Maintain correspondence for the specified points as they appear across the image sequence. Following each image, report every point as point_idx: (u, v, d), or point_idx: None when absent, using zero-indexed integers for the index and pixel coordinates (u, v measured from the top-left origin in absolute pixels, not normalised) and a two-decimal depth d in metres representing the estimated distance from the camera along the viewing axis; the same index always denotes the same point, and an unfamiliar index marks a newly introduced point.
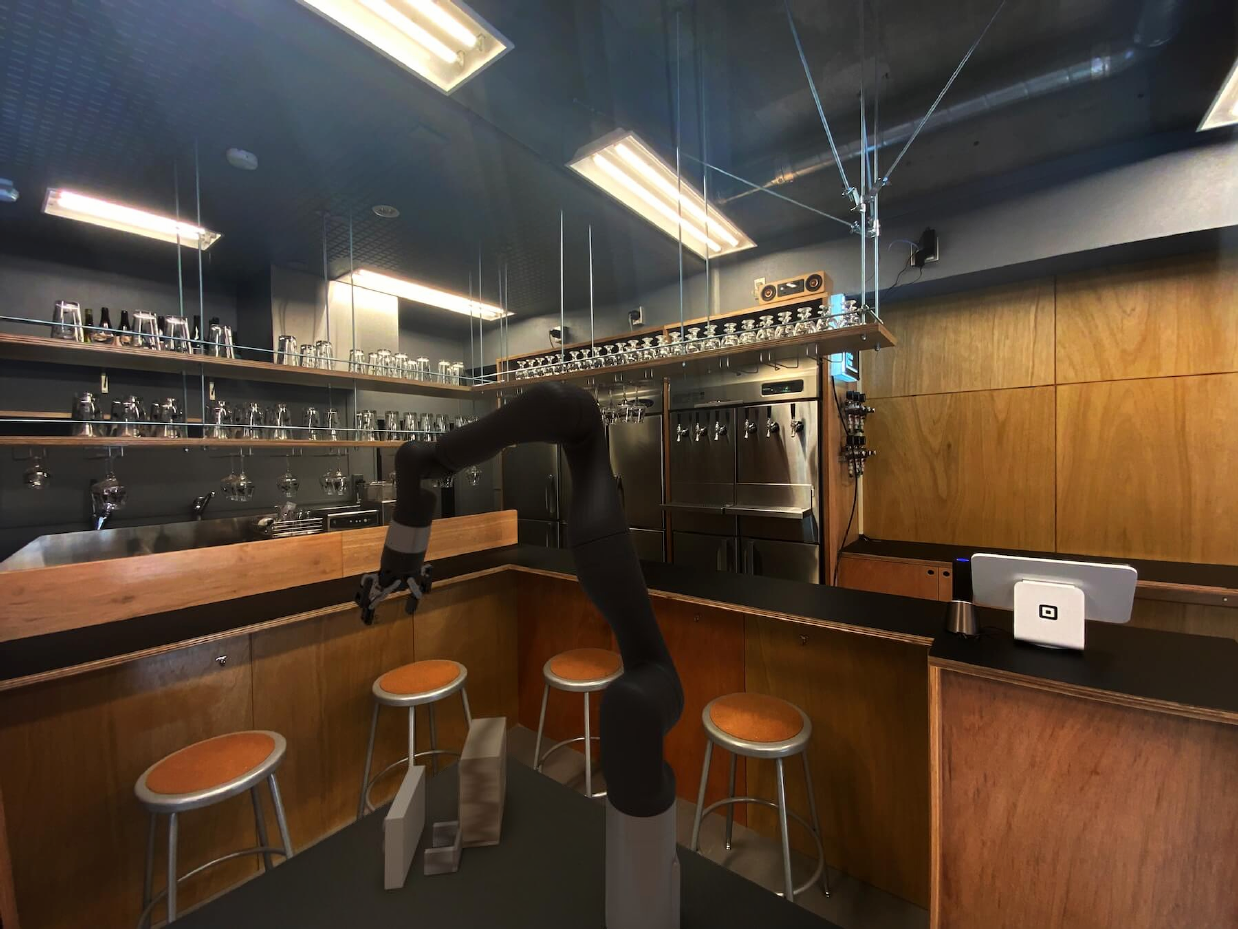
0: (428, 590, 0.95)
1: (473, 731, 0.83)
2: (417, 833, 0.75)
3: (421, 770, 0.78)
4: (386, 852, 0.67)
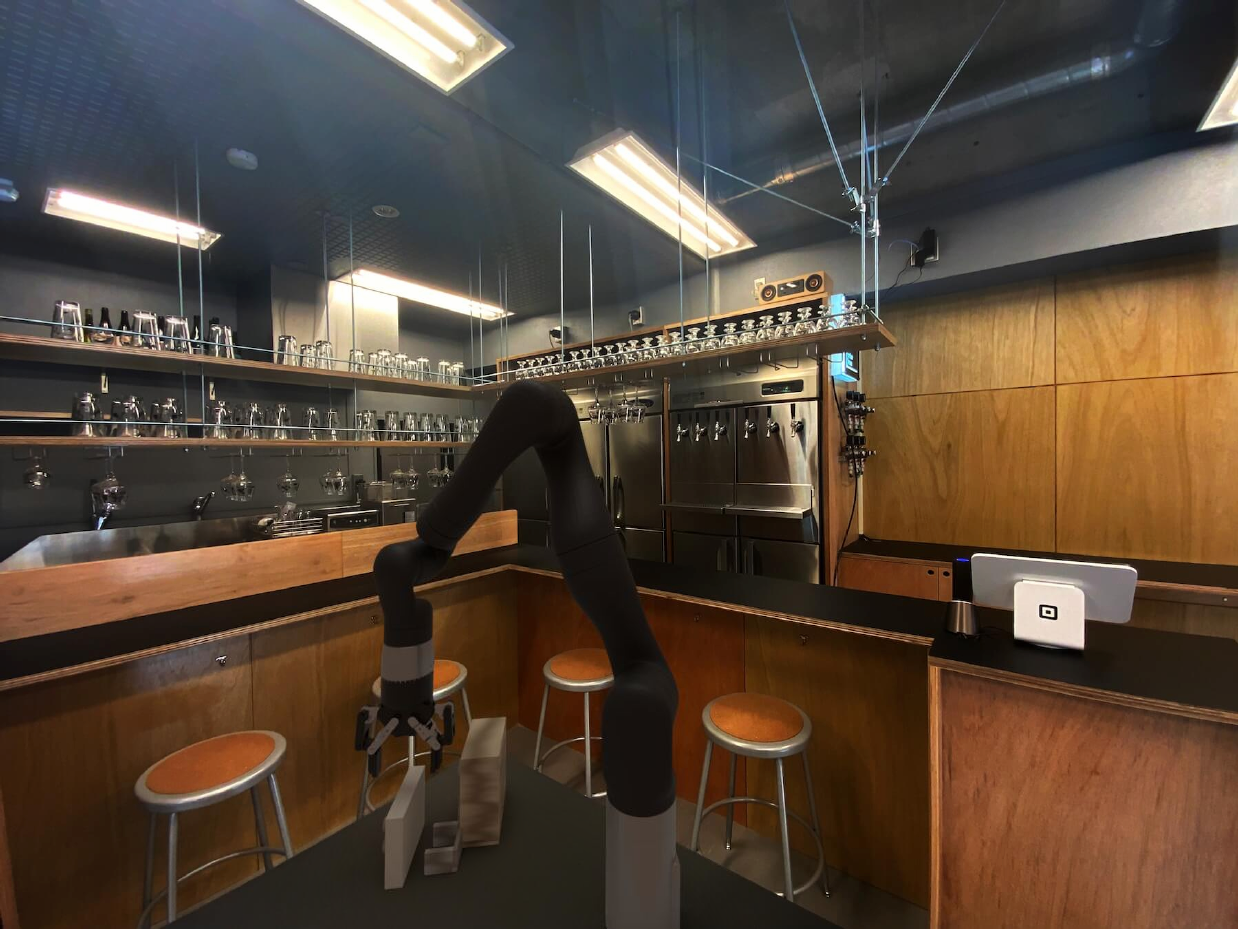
0: (448, 740, 0.73)
1: (473, 731, 0.83)
2: (417, 833, 0.75)
3: (421, 770, 0.78)
4: (386, 852, 0.67)
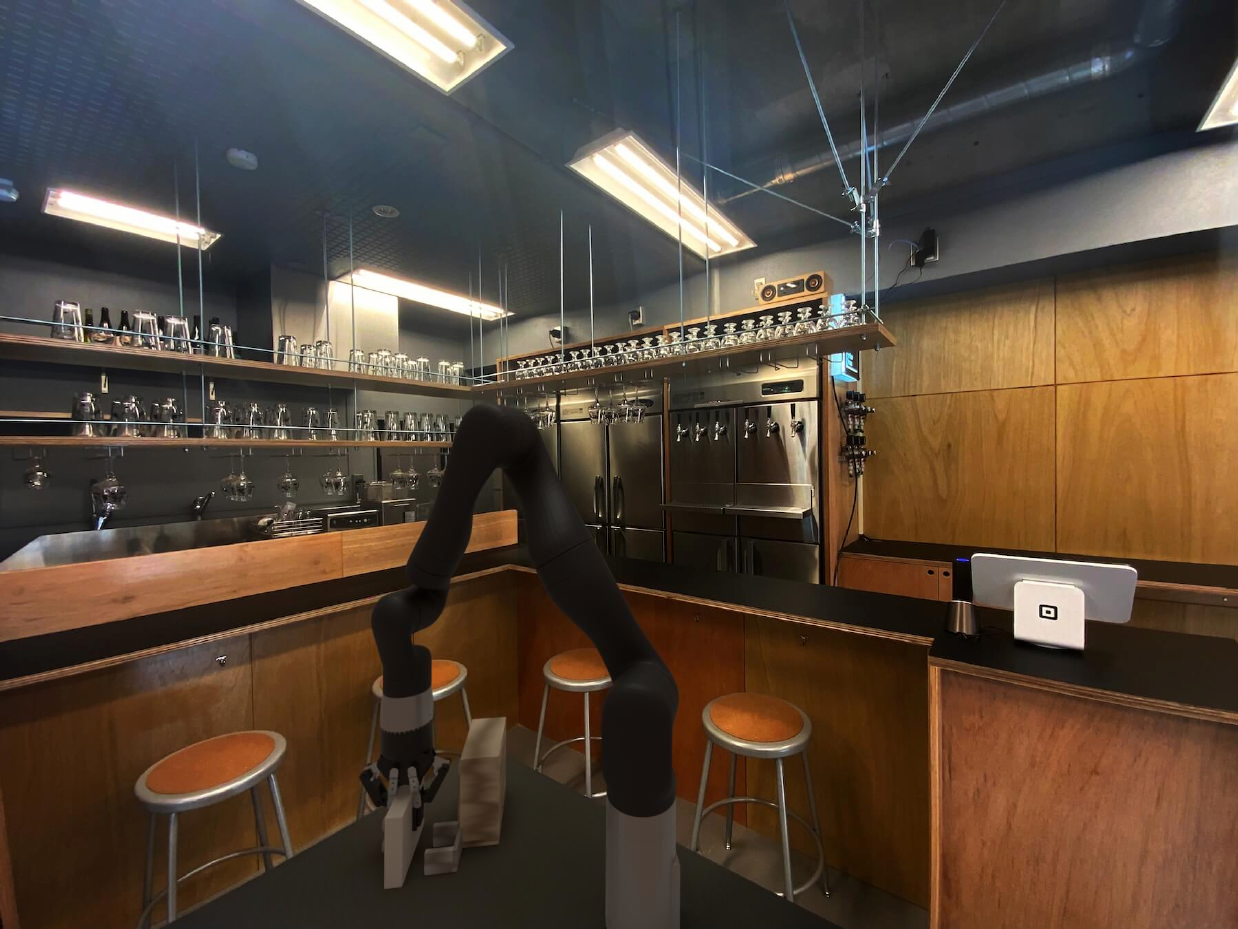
0: (430, 798, 0.73)
1: (473, 731, 0.83)
2: (417, 832, 0.75)
3: None
4: (385, 851, 0.67)
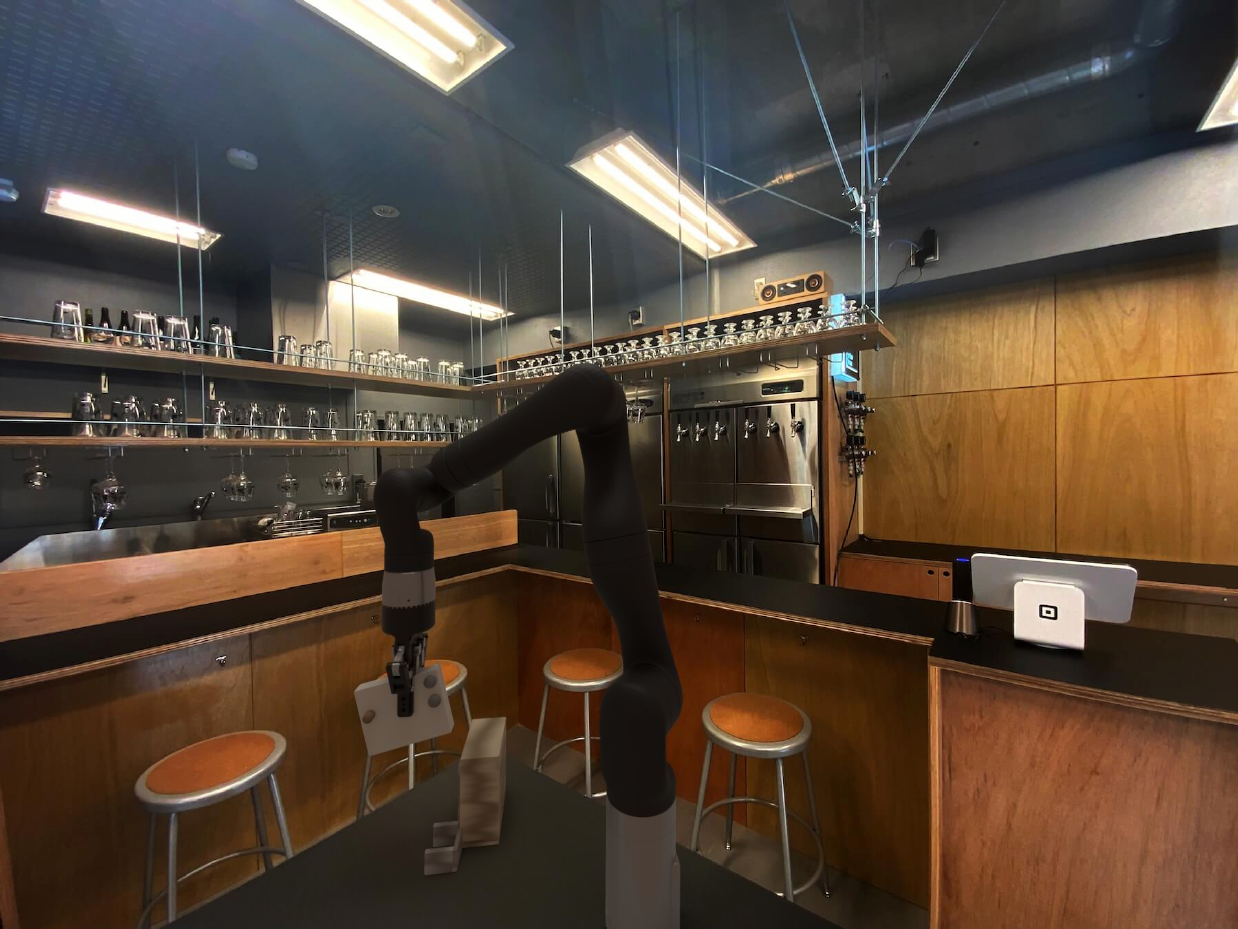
0: (423, 666, 0.76)
1: (473, 731, 0.83)
2: None
3: (368, 682, 0.72)
4: (443, 698, 0.72)
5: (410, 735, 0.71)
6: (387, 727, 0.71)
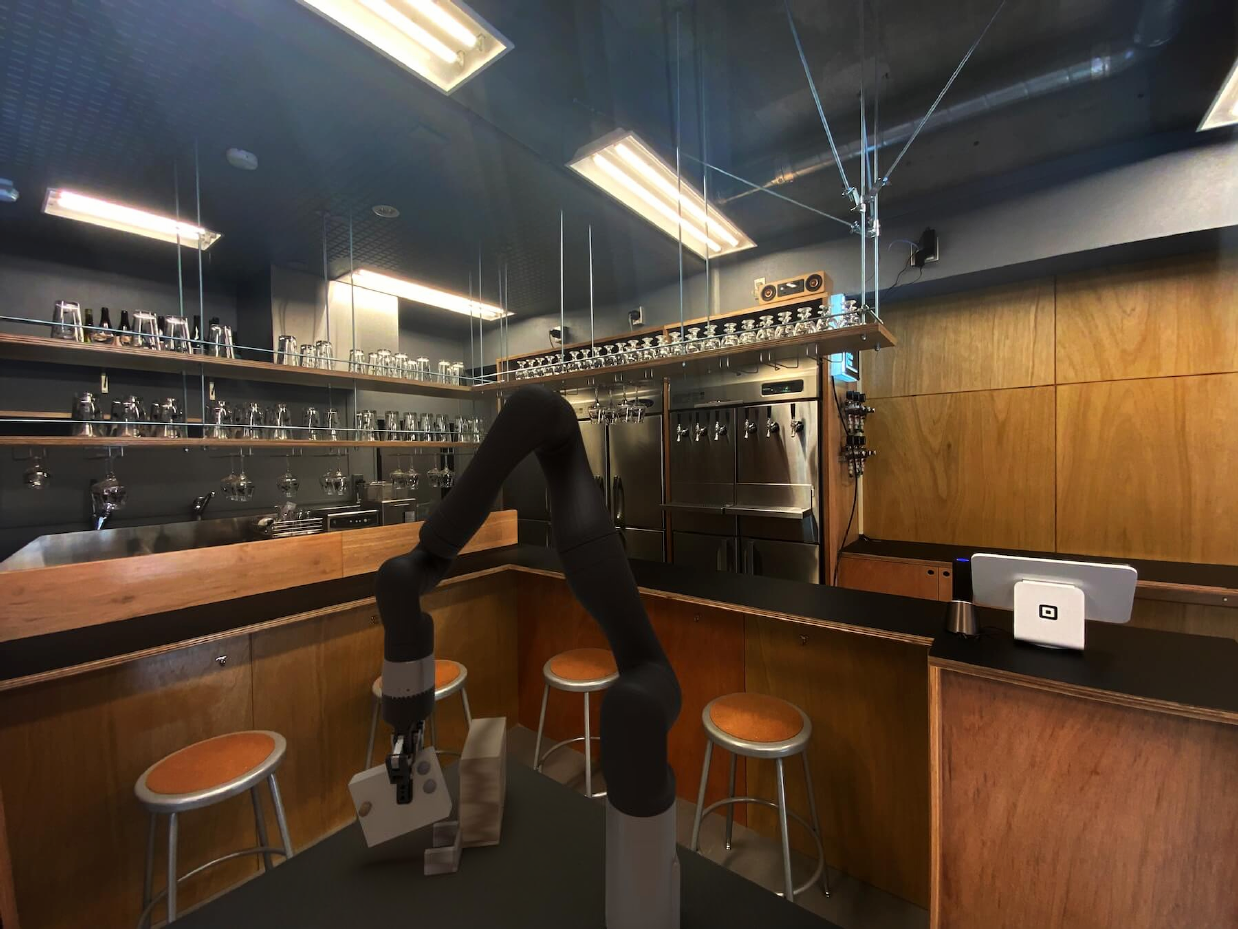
0: (423, 746, 0.76)
1: (473, 731, 0.83)
2: None
3: (362, 772, 0.72)
4: (438, 783, 0.72)
5: (408, 822, 0.71)
6: (385, 817, 0.70)
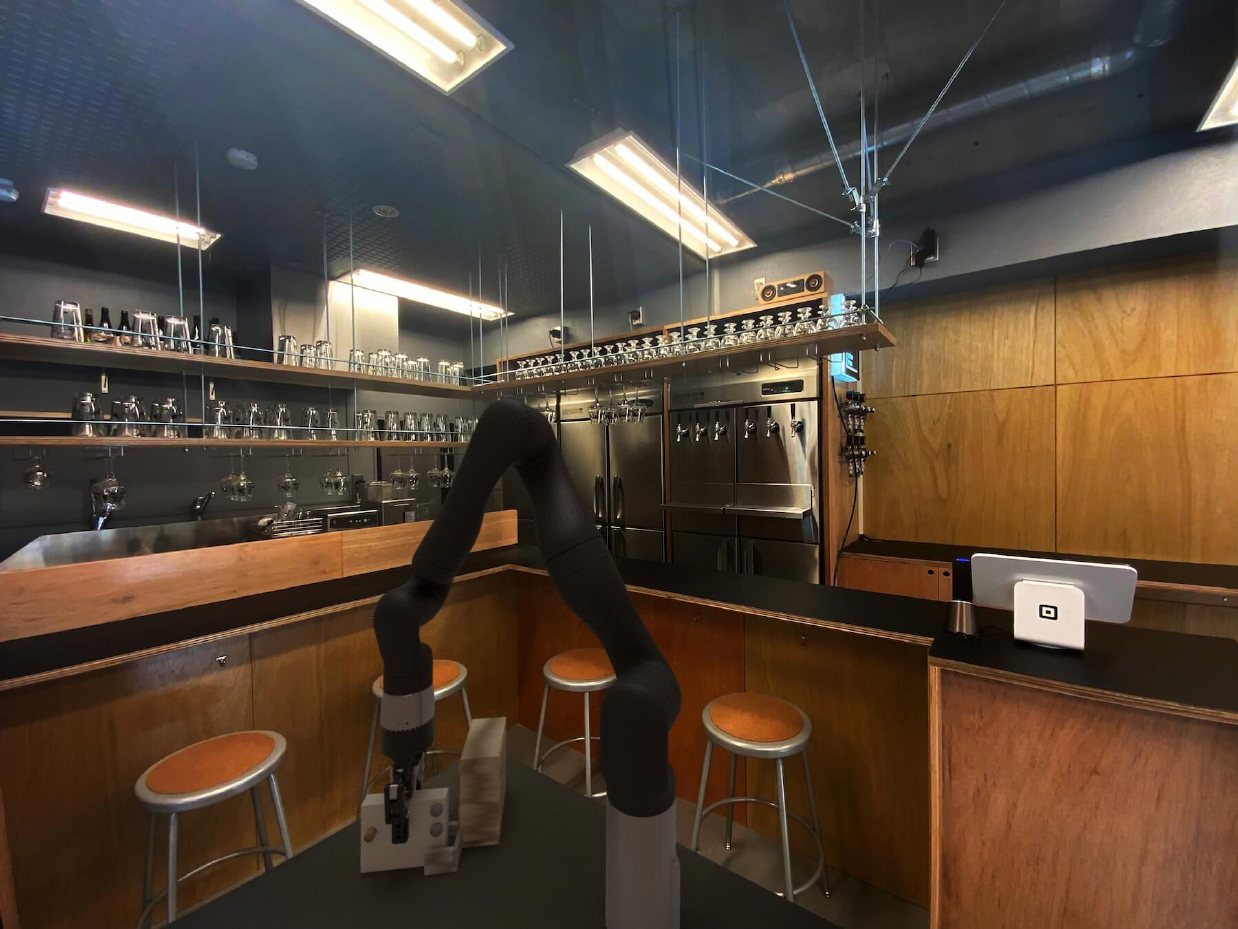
0: (425, 766, 0.78)
1: (473, 731, 0.83)
2: None
3: (375, 795, 0.72)
4: (445, 828, 0.72)
5: (405, 859, 0.71)
6: (385, 848, 0.70)
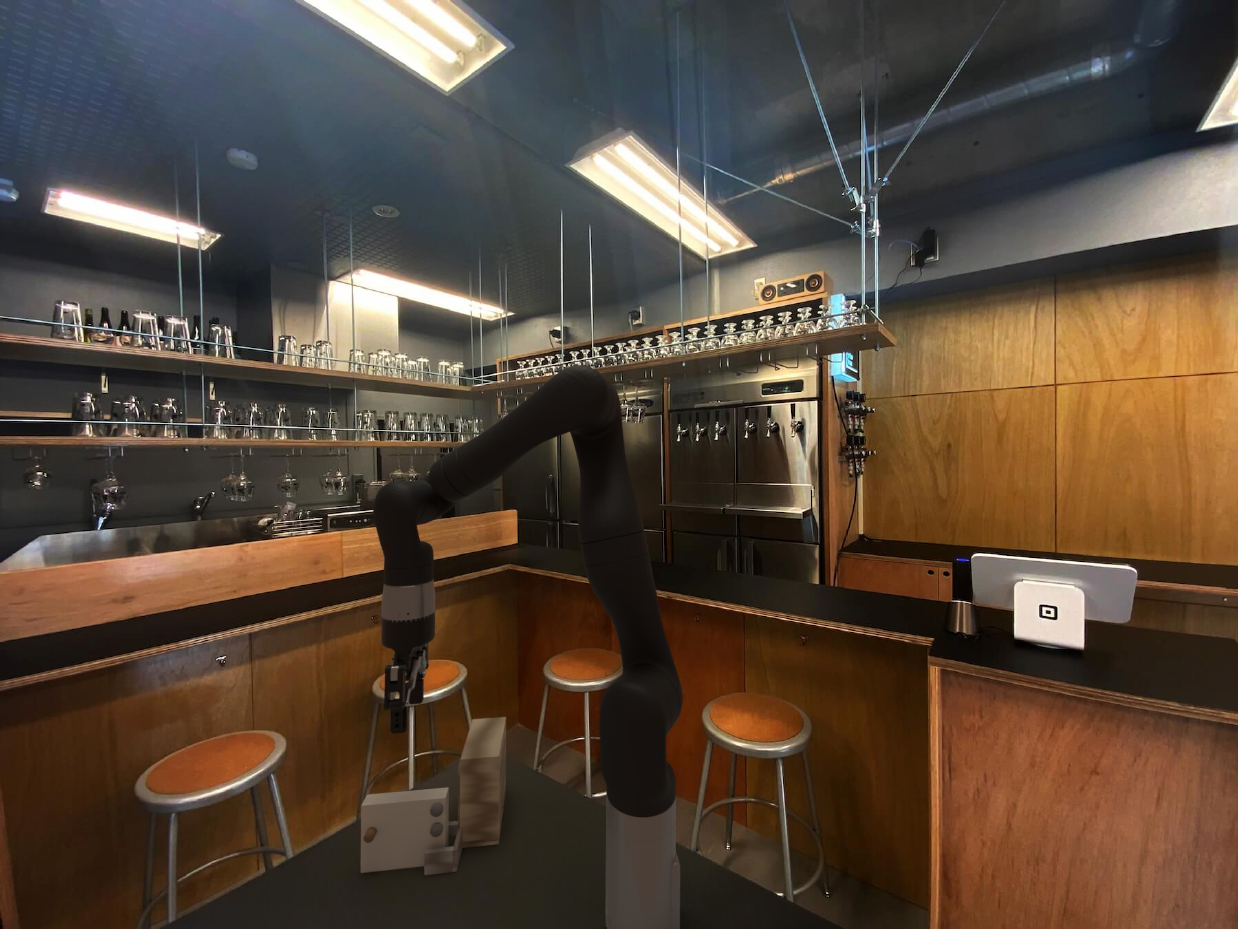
0: (427, 664, 0.79)
1: (473, 731, 0.83)
2: None
3: (375, 794, 0.72)
4: (445, 828, 0.72)
5: (405, 859, 0.71)
6: (385, 847, 0.70)
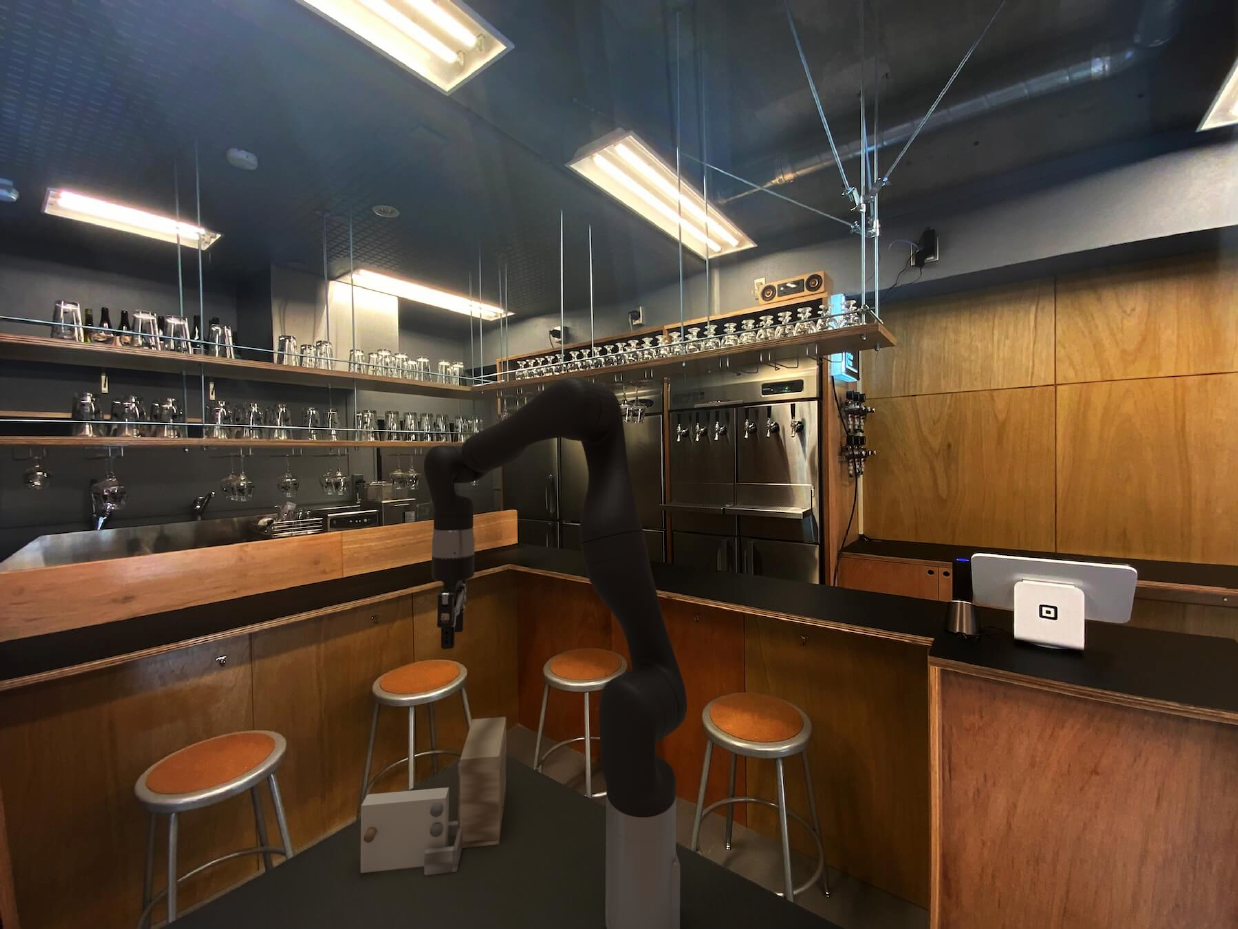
0: (466, 601, 0.95)
1: (473, 731, 0.83)
2: None
3: (375, 794, 0.72)
4: (445, 828, 0.72)
5: (405, 859, 0.71)
6: (385, 847, 0.70)
